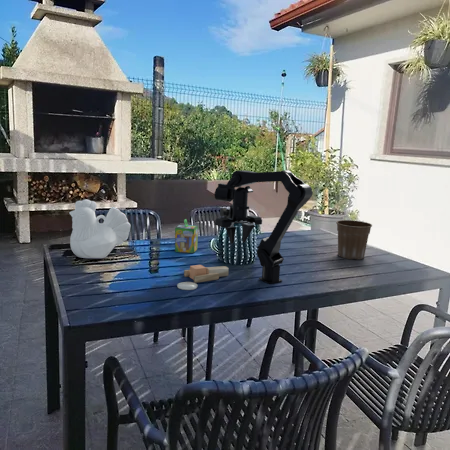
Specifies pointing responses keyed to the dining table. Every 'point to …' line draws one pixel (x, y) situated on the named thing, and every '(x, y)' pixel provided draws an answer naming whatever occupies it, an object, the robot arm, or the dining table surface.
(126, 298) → the dining table surface
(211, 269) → the beige rectangular block
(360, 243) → the plant pot
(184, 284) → the white flat disc
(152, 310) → the dining table surface
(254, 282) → the dining table surface
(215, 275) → the channel
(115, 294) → the dining table surface
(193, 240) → the chalk box
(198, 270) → the block
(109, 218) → the decorative rooster
